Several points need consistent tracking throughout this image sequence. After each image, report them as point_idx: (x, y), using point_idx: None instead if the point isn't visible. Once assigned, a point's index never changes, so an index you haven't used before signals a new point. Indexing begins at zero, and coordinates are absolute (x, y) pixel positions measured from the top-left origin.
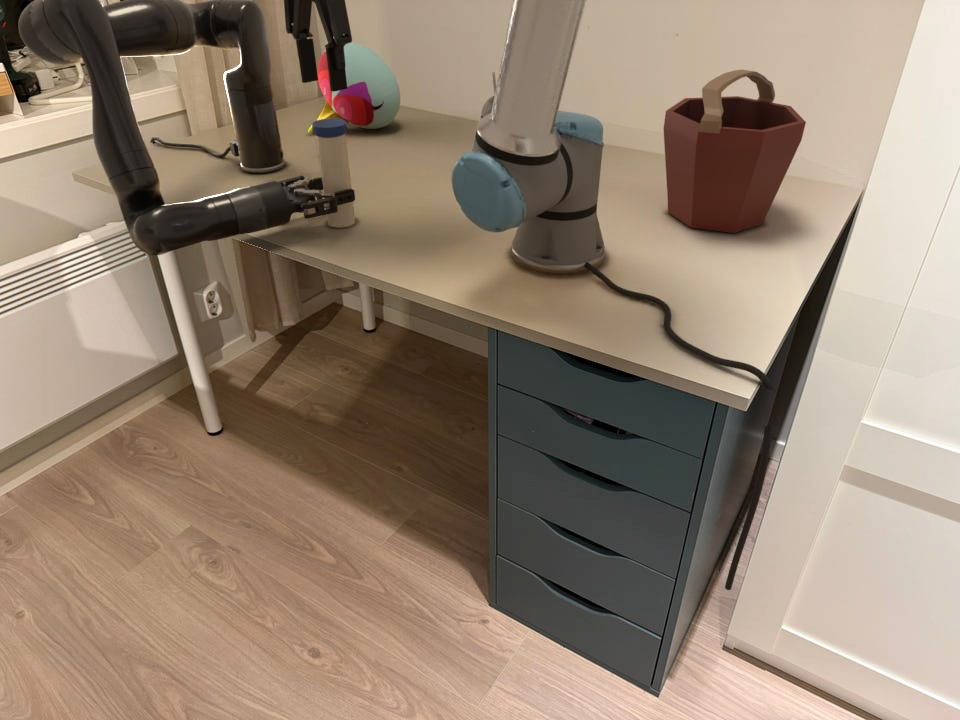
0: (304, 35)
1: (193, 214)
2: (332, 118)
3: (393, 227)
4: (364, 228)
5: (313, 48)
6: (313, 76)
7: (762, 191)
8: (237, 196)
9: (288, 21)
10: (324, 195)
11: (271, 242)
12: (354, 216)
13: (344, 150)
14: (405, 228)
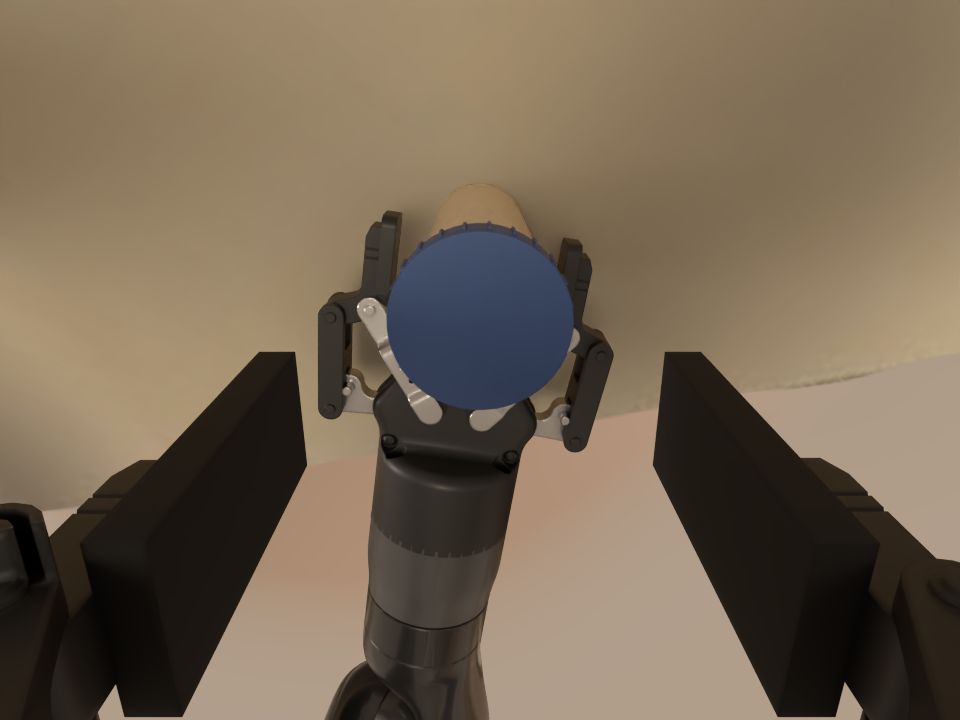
0: (77, 654)
1: (464, 709)
2: (415, 260)
3: (640, 129)
4: (573, 204)
5: (196, 484)
6: (288, 402)
7: None
8: (456, 608)
9: None
10: None
11: None
12: (512, 199)
13: None
14: (678, 103)
